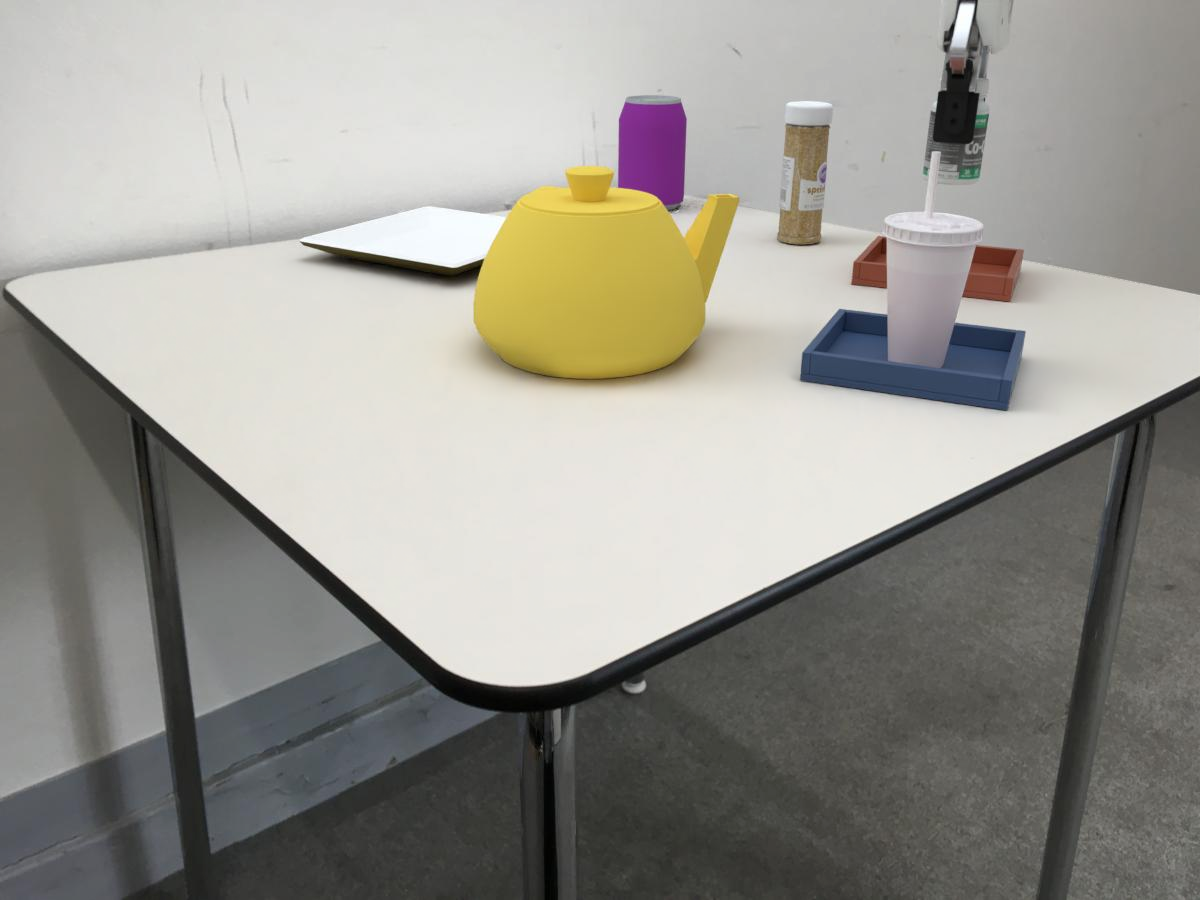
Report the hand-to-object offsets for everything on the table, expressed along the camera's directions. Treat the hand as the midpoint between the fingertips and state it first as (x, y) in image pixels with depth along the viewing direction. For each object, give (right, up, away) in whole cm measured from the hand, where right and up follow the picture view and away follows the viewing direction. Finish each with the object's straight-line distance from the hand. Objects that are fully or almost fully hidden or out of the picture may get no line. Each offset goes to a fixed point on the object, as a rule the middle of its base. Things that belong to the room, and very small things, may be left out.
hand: (956, 135), depth 93 cm
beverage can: (-24, +1, +34) cm, 42 cm away
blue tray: (-9, -21, -18) cm, 29 cm away
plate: (-46, -8, +12) cm, 48 cm away
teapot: (-30, -19, -12) cm, 37 cm away
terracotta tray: (0, -11, +5) cm, 12 cm away
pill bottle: (0, -4, +2) cm, 4 cm away
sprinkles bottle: (-10, -6, +18) cm, 21 cm away
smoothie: (-9, -21, -18) cm, 29 cm away
